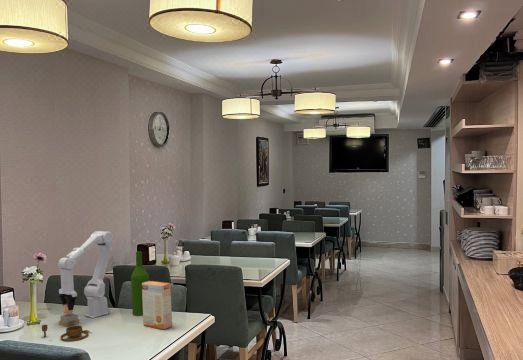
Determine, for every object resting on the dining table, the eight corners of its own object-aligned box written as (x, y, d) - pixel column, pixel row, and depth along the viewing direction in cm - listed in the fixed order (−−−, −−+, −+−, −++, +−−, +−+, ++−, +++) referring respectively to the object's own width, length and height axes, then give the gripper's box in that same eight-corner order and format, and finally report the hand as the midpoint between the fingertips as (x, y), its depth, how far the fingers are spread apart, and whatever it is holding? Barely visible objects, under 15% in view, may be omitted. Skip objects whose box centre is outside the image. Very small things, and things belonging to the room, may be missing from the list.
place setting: (63, 346, 214) (63, 333, 214) (39, 338, 226) (38, 326, 226) (98, 335, 228) (98, 322, 228) (73, 328, 240) (73, 316, 240)
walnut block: (72, 322, 250) (72, 317, 250) (79, 324, 245) (79, 319, 245) (59, 325, 245) (59, 320, 245) (66, 328, 240) (66, 323, 240)
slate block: (71, 317, 249) (71, 312, 249) (78, 319, 245) (77, 314, 245) (60, 320, 245) (60, 315, 245) (66, 322, 241) (66, 317, 241)
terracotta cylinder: (70, 310, 248) (70, 302, 248) (74, 312, 245) (74, 304, 245) (62, 312, 245) (61, 304, 245) (66, 314, 242) (65, 306, 242)
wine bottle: (144, 310, 265) (141, 249, 265) (153, 313, 259) (150, 251, 258) (129, 314, 259) (126, 252, 258) (138, 317, 253) (135, 253, 252)
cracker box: (172, 326, 235) (171, 282, 234) (163, 330, 230) (161, 285, 229) (152, 322, 243) (150, 280, 242) (143, 325, 238) (141, 282, 237)
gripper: (52, 281, 246) (53, 308, 247) (66, 285, 237) (67, 313, 237) (66, 279, 252) (67, 305, 252) (80, 282, 242) (81, 310, 242)
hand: (68, 309), depth 245 cm, fingers closed on terracotta cylinder, 4 cm apart
